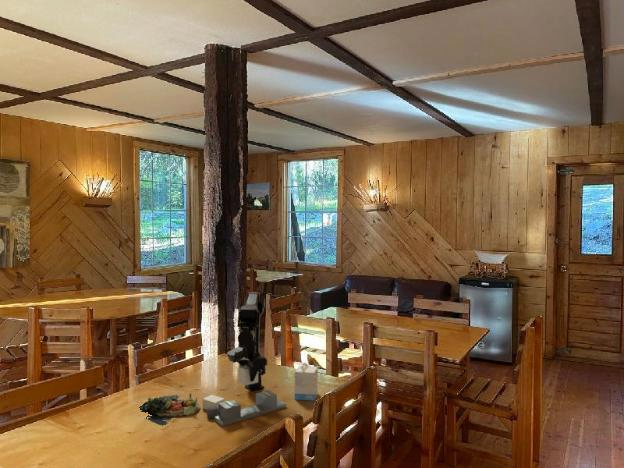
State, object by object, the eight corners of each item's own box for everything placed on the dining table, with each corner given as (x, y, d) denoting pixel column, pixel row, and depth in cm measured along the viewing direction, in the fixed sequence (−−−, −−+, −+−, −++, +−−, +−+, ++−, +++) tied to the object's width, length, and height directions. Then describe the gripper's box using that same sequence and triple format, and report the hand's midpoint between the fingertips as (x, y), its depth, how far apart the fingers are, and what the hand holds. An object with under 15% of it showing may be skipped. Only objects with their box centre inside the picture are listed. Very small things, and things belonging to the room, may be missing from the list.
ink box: (314, 401, 186) (314, 368, 185) (294, 399, 187) (294, 367, 187) (318, 393, 194) (318, 362, 194) (298, 392, 196) (299, 361, 195)
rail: (214, 420, 167) (214, 403, 167) (277, 402, 184) (278, 387, 184) (222, 426, 162) (222, 409, 162) (286, 407, 180) (286, 391, 179)
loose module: (238, 382, 177) (238, 365, 177) (251, 379, 181) (251, 363, 181) (244, 385, 173) (244, 369, 173) (258, 382, 177) (258, 366, 177)
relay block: (202, 408, 178) (202, 398, 178) (212, 404, 182) (212, 394, 182) (214, 413, 174) (214, 402, 174) (224, 408, 178) (224, 398, 178)
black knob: (205, 416, 171) (205, 408, 171) (214, 413, 173) (214, 405, 173) (210, 419, 168) (210, 411, 168) (220, 416, 170) (220, 408, 170)
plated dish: (228, 409, 179) (227, 391, 179) (169, 438, 156) (168, 417, 156) (171, 391, 199) (170, 374, 199) (111, 413, 176) (110, 395, 176)
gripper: (218, 338, 180) (218, 377, 180) (242, 347, 165) (242, 390, 165) (243, 334, 186) (243, 372, 187) (268, 343, 172) (267, 384, 172)
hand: (248, 379), depth 177 cm, fingers closed on loose module, 5 cm apart
